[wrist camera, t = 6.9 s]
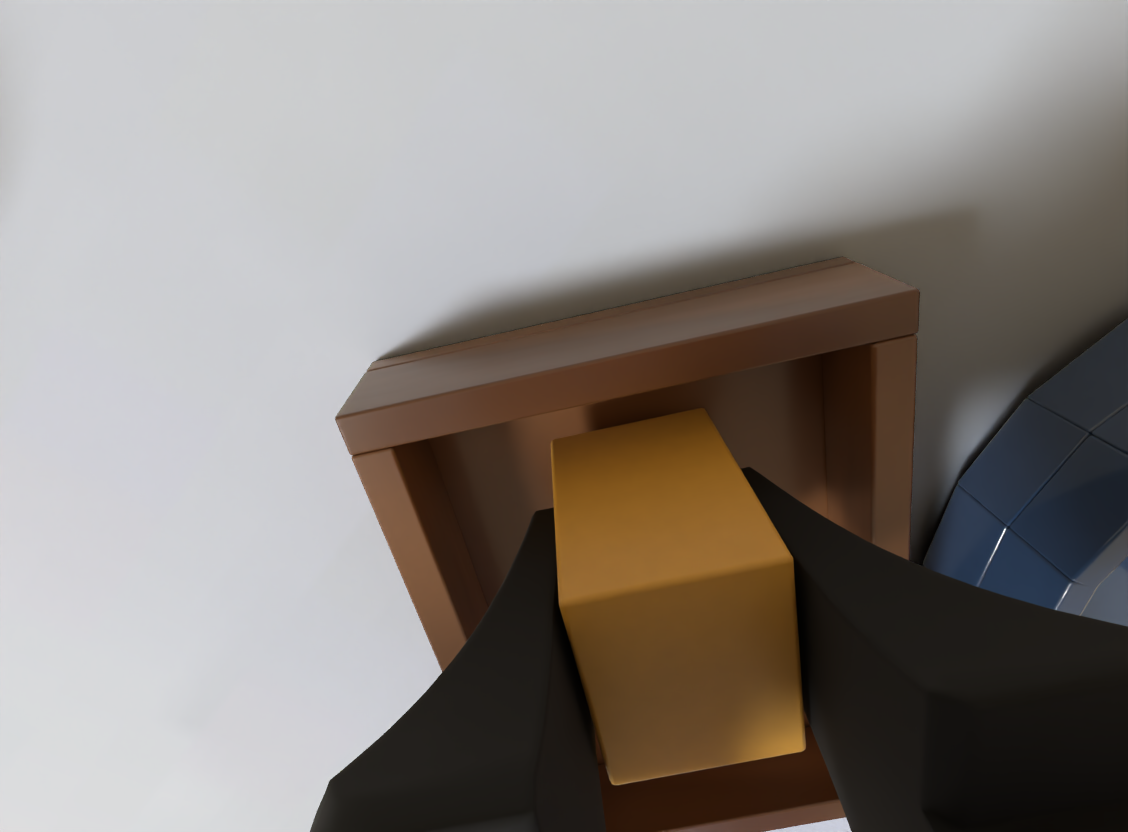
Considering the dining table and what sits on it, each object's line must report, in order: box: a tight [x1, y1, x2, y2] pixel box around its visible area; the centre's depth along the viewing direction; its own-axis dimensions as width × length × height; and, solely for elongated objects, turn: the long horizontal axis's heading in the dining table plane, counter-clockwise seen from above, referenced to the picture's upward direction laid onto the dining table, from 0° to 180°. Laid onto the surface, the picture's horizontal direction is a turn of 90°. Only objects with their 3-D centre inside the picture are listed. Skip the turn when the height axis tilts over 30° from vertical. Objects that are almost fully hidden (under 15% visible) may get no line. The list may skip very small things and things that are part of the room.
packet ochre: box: [551, 408, 806, 785], centre depth 11 cm, size 4×3×5 cm
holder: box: [335, 257, 920, 832], centre depth 15 cm, size 14×10×3 cm
